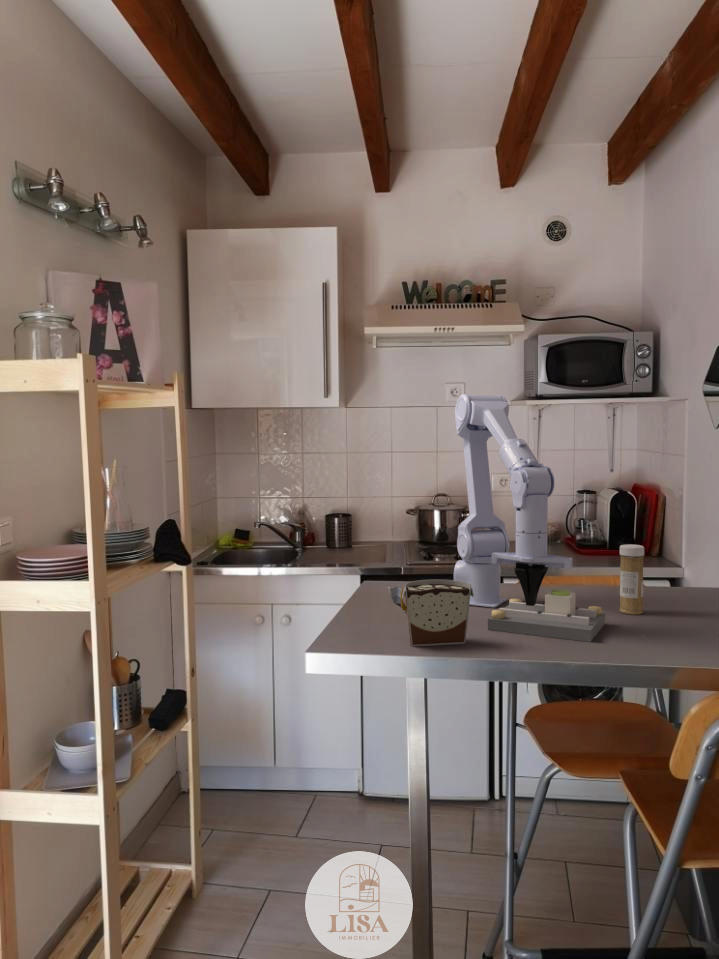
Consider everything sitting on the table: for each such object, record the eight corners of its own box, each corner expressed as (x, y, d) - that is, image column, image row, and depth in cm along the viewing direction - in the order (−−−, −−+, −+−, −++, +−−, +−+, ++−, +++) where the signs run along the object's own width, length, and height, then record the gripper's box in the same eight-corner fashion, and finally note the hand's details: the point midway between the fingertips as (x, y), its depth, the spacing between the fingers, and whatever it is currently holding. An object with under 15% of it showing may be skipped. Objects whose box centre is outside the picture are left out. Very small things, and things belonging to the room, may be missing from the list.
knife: (385, 597, 158) (385, 575, 157) (391, 597, 158) (391, 574, 158) (413, 624, 133) (413, 598, 133) (420, 624, 134) (420, 597, 133)
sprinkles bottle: (648, 613, 142) (649, 545, 141) (634, 616, 139) (634, 547, 138) (628, 609, 145) (629, 543, 145) (614, 611, 143) (614, 545, 142)
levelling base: (487, 629, 129) (487, 611, 129) (510, 613, 142) (510, 596, 142) (590, 642, 121) (590, 622, 121) (604, 623, 133) (605, 605, 133)
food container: (462, 633, 127) (462, 577, 126) (473, 643, 121) (474, 584, 120) (394, 637, 125) (394, 580, 124) (402, 646, 118) (402, 587, 118)
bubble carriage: (544, 617, 129) (545, 591, 129) (551, 611, 133) (551, 587, 133) (569, 619, 127) (569, 594, 127) (575, 614, 131) (575, 589, 131)
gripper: (486, 531, 132) (486, 604, 132) (566, 536, 125) (566, 613, 126) (498, 528, 138) (497, 597, 139) (575, 532, 131) (574, 605, 132)
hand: (530, 604), depth 133 cm, fingers closed
